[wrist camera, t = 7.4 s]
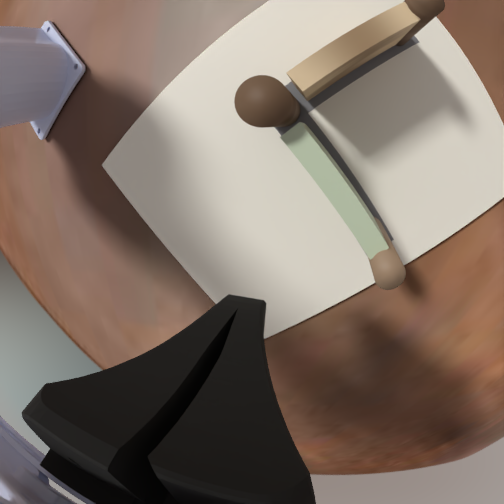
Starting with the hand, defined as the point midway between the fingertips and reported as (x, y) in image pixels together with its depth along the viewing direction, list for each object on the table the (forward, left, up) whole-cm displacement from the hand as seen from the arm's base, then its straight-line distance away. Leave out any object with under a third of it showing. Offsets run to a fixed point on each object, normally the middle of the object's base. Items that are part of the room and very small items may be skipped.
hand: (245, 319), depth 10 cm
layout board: (-3, +5, -9) cm, 11 cm away
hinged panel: (0, +5, -8) cm, 10 cm away
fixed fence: (-6, +9, -9) cm, 14 cm away
